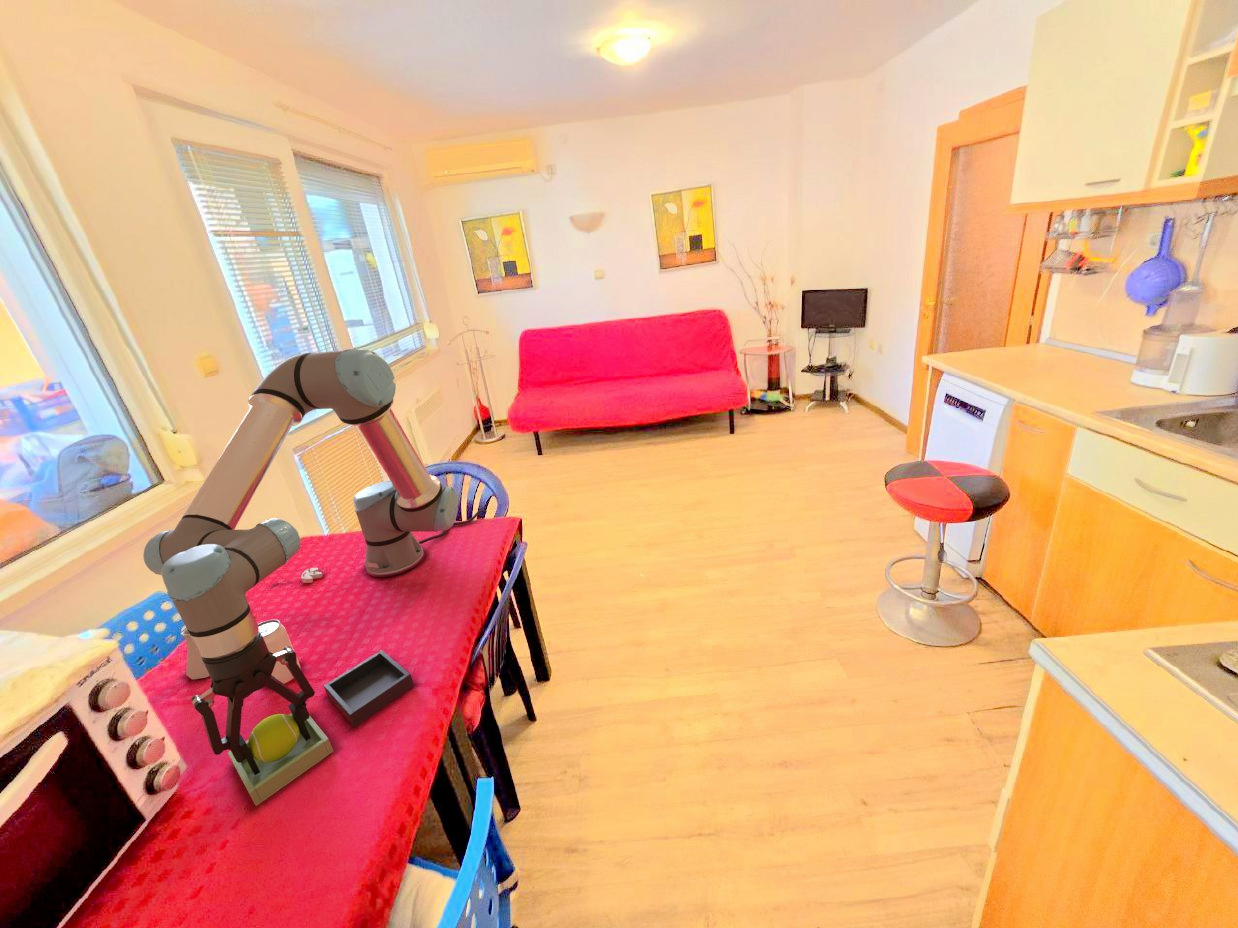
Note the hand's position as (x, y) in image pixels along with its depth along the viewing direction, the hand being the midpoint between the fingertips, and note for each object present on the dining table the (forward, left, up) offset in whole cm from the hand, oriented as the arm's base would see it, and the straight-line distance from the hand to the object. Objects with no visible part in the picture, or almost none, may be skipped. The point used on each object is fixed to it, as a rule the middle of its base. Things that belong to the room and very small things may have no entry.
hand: (281, 751), depth 84 cm
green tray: (0, 0, -2) cm, 2 cm away
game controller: (-23, -59, -2) cm, 63 cm away
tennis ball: (0, 0, 0) cm, 0 cm away
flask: (+2, -39, -2) cm, 39 cm away
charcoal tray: (-16, -2, -2) cm, 16 cm away
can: (-7, -22, -2) cm, 23 cm away
